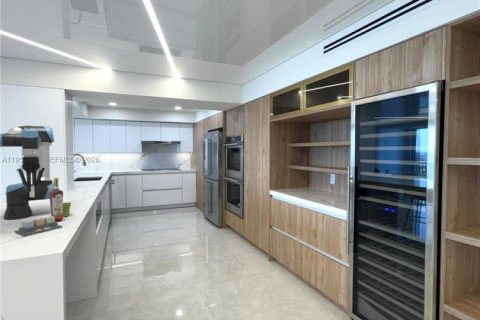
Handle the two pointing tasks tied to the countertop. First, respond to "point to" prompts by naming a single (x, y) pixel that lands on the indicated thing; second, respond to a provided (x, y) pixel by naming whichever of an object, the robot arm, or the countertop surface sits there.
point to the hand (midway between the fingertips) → (32, 196)
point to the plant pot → (66, 209)
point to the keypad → (38, 229)
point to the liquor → (56, 201)
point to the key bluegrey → (27, 224)
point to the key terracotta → (39, 222)
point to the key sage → (49, 219)
